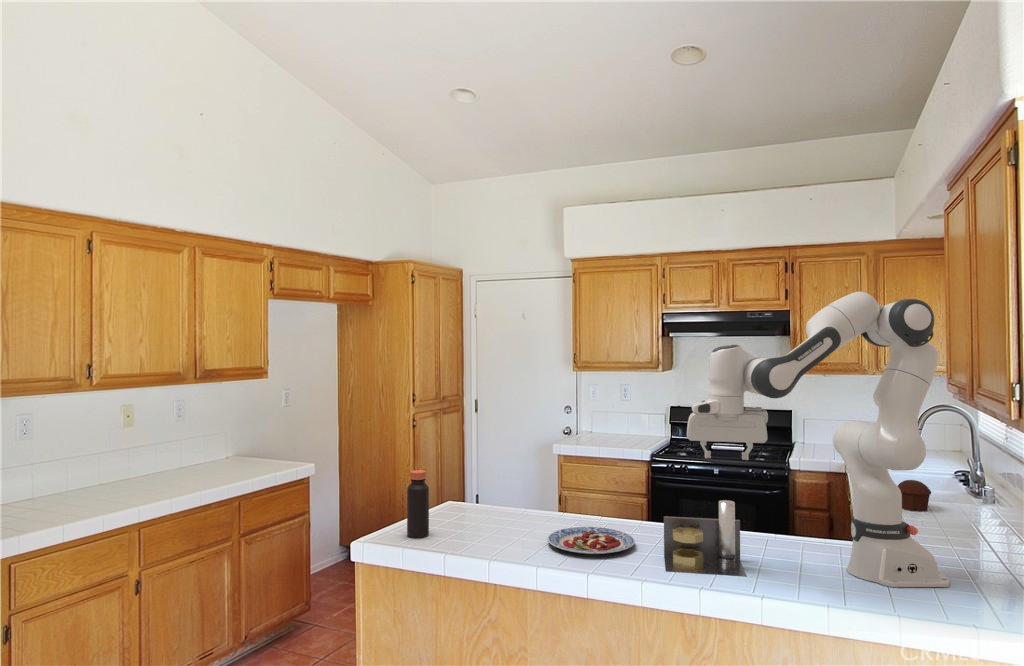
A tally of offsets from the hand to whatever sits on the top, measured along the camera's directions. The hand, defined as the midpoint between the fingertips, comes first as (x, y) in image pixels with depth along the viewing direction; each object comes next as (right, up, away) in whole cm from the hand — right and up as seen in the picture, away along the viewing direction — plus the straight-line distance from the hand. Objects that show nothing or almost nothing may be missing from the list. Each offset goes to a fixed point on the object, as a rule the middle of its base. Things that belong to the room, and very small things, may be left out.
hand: (726, 458), depth 174 cm
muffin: (+89, -31, +64) cm, 113 cm away
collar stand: (-6, -30, +1) cm, 30 cm away
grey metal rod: (0, -28, -1) cm, 28 cm away
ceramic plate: (-33, -31, +22) cm, 50 cm away
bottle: (-86, -31, +33) cm, 97 cm away
